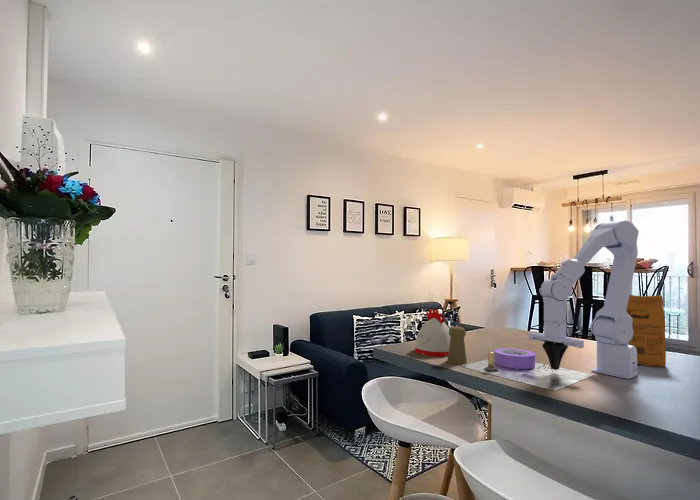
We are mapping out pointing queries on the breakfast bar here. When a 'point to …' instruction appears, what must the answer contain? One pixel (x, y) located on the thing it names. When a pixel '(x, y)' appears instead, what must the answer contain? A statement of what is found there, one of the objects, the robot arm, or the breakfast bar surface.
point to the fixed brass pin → (491, 362)
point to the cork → (457, 346)
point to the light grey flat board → (533, 375)
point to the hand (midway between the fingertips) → (555, 368)
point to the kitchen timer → (433, 336)
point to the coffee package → (648, 329)
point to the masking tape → (514, 358)
